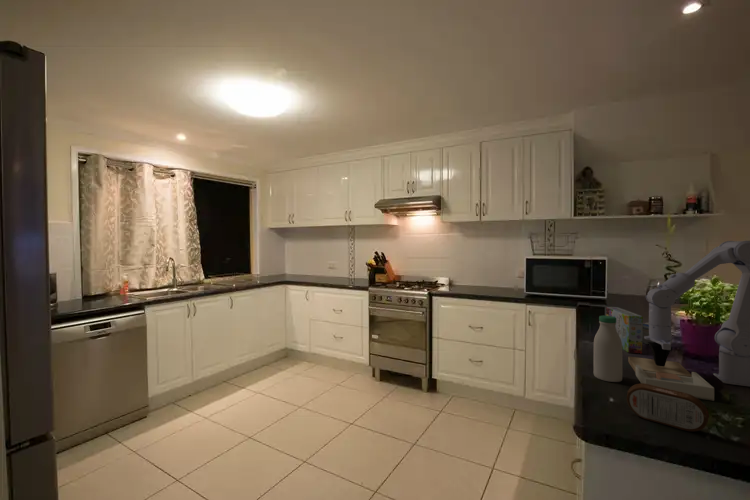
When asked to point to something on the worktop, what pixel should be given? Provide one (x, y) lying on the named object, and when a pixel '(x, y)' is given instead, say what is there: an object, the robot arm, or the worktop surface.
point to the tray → (679, 384)
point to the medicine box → (646, 333)
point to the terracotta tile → (666, 376)
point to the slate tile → (672, 380)
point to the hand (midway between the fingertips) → (659, 365)
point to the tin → (668, 407)
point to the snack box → (628, 328)
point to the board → (652, 367)
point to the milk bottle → (608, 351)
